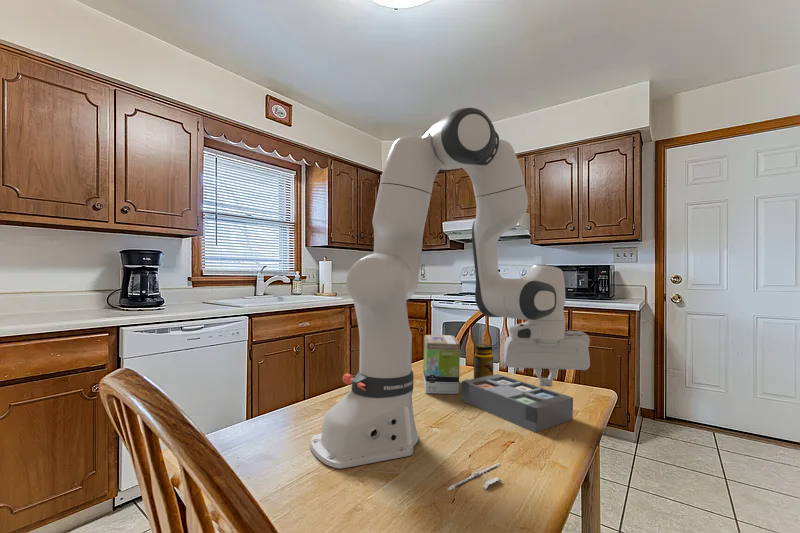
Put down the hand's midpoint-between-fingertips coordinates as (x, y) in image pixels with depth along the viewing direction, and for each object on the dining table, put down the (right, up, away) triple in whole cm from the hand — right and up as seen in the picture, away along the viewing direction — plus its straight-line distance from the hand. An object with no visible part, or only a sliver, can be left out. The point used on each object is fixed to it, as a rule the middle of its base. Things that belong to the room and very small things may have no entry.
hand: (545, 386), depth 97 cm
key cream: (-4, -4, +6) cm, 8 cm away
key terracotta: (-13, -4, +7) cm, 16 cm away
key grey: (-7, -4, +11) cm, 14 cm away
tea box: (-24, -7, +22) cm, 34 cm away
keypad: (-7, -7, +4) cm, 10 cm away
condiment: (-11, -7, +26) cm, 29 cm away
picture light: (-22, -8, -30) cm, 38 cm away
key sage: (-6, -4, -4) cm, 8 cm away
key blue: (0, -4, 0) cm, 4 cm away
